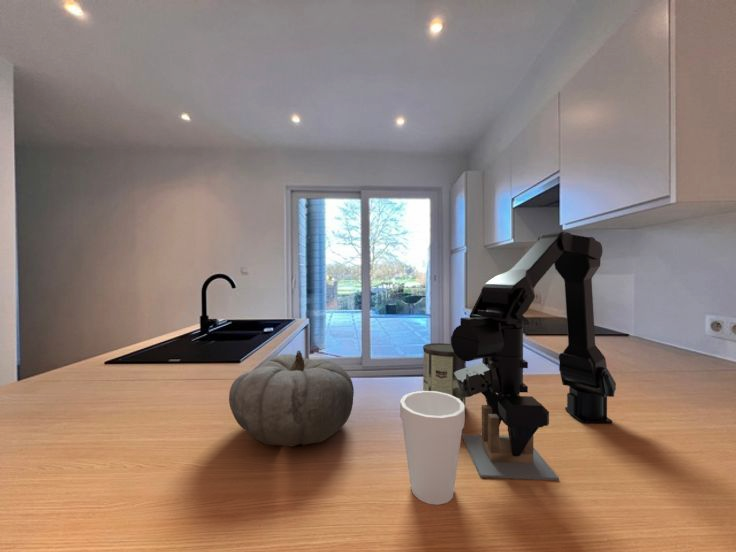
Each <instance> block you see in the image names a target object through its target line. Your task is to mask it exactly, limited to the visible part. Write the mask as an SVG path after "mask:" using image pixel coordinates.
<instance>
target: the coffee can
mask: <svg viewBox="0 0 736 552" xmlns="http://www.w3.org/2000/svg"><path fill="white" fill-rule="evenodd" d="M422 349H423V361H422V362H423V368H422V369H423V371H422V373H423V375H422V379H423V380H422V388H423V389H422V391H437V392H442V393H446V394H450V395H452V396H454V397H456V398H459V399H460V400H461V401H462V402H463V403H464V405H465V410H466V408H467V407H466V397H465V396H463V394H462V392H461V390H460V389H459V386H458V383H457V381H456V378H455V375H454V372H456V371H458V370H461V369H464V368H467V361H463V360H461V359H460V358H459V357H458V356H457V355H456V354H455V353H454V351H453V348H452V345H451V343H443V342H438V343H437V342H435V343H434V342H431V343H426V344H424V345H422Z"/></svg>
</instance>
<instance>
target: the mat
mask: <svg viewBox="0 0 736 552" xmlns="http://www.w3.org/2000/svg"><path fill="white" fill-rule="evenodd" d="M499 437H500V438H509V435H499ZM461 438H462V440H463V442H464V444H465V446H466V448H467V451H468V453H469V455H470V457H472V458H471V460H472V459H473V460H472V462H473V463H474V466H476V467H475V469H476V468H477V469H476V471H477V472H478V475H479V478H483V477H493V478H492V479H509V478H512V479H513V478H514V479H515V480H536V479H537V481H538V480H540V481H542V480H544V481H560V477H559V476H558V474H557V473H556V472H555V471H554V469H552V467H551V466H550V465H549V464H548V462H547V461H545V459H544V457H542V456H541V454H540V453H539V452H538V451H537V450H536V449H535V446H533V463H515V462H491V461H490V459H489V458H488V456H487V454H486V452H485V450H484V448H483V447H482V434H461ZM494 477H495V478H494ZM496 477H497V478H496Z"/></svg>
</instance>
